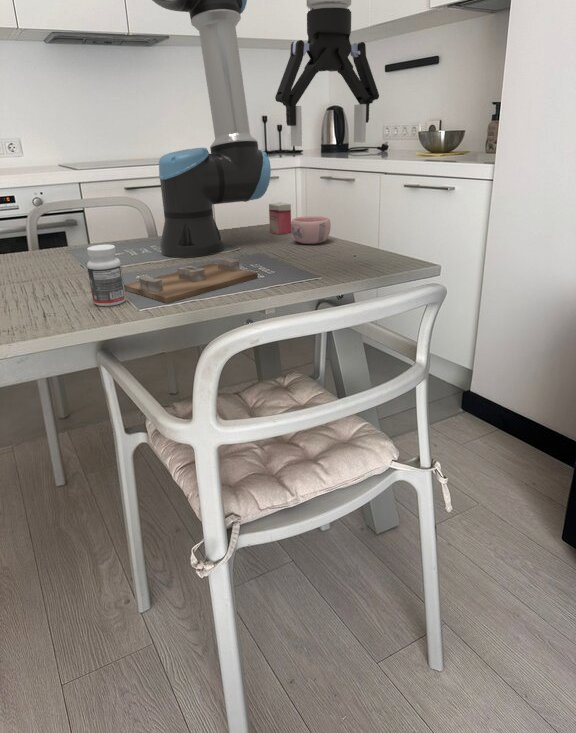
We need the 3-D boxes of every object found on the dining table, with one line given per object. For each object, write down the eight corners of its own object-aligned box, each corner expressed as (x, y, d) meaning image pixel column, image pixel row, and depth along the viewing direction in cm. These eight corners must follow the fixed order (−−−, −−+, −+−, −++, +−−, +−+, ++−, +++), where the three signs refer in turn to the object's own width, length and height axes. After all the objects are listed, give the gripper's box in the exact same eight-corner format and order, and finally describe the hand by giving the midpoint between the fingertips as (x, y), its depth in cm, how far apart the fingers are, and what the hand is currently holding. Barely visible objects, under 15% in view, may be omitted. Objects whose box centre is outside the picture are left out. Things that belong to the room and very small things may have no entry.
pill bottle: (97, 298, 106) (88, 244, 102) (128, 296, 106) (120, 242, 102) (90, 307, 100) (80, 251, 97) (123, 306, 101) (114, 249, 97)
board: (124, 290, 110) (122, 274, 109) (213, 267, 125) (212, 254, 124) (167, 303, 101) (165, 286, 100) (257, 277, 116) (256, 263, 115)
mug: (338, 242, 146) (338, 218, 144) (309, 248, 140) (308, 223, 138) (307, 236, 155) (307, 213, 152) (278, 241, 149) (278, 218, 147)
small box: (269, 232, 161) (268, 203, 158) (281, 230, 164) (280, 202, 160) (279, 235, 158) (278, 205, 154) (292, 232, 160) (291, 203, 157)
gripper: (273, 1, 88) (277, 148, 97) (402, 9, 99) (396, 141, 108) (252, 9, 94) (258, 146, 103) (376, 15, 105) (372, 140, 114)
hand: (328, 144), depth 105 cm, fingers open, 13 cm apart
